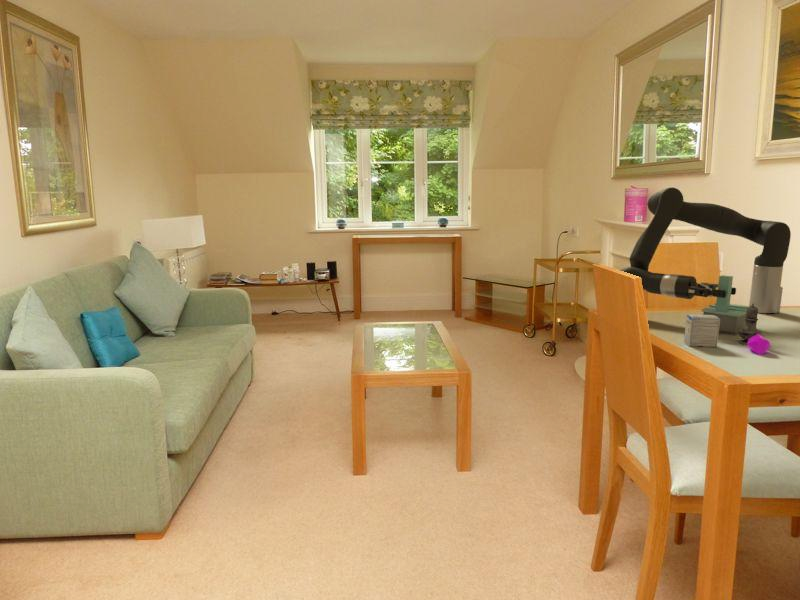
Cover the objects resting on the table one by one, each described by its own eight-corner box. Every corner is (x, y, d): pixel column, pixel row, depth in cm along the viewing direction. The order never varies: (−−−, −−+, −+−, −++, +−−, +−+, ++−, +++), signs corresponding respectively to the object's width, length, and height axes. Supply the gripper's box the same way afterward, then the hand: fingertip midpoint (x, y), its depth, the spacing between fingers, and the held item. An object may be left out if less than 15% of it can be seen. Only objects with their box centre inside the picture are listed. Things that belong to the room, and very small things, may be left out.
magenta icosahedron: (743, 350, 175) (745, 334, 174) (757, 349, 177) (759, 333, 176) (759, 355, 170) (761, 339, 169) (773, 353, 172) (776, 337, 171)
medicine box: (711, 343, 182) (714, 315, 180) (717, 347, 177) (720, 318, 176) (683, 342, 182) (686, 314, 181) (688, 346, 178) (691, 317, 176)
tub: (720, 322, 210) (721, 305, 209) (752, 327, 203) (754, 309, 202) (701, 329, 199) (703, 311, 198) (735, 335, 192) (737, 316, 191)
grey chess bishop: (752, 346, 179) (757, 306, 177) (732, 342, 184) (737, 302, 182) (763, 344, 182) (768, 304, 180) (743, 339, 187) (748, 300, 185)
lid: (720, 304, 210) (724, 270, 208) (756, 309, 202) (761, 274, 200) (701, 311, 198) (705, 274, 196) (738, 316, 191) (743, 279, 188)
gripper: (670, 276, 199) (723, 283, 188) (687, 273, 209) (740, 278, 197) (667, 299, 201) (721, 307, 189) (685, 294, 210) (737, 301, 199)
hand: (730, 292), depth 193 cm, fingers open, 8 cm apart
